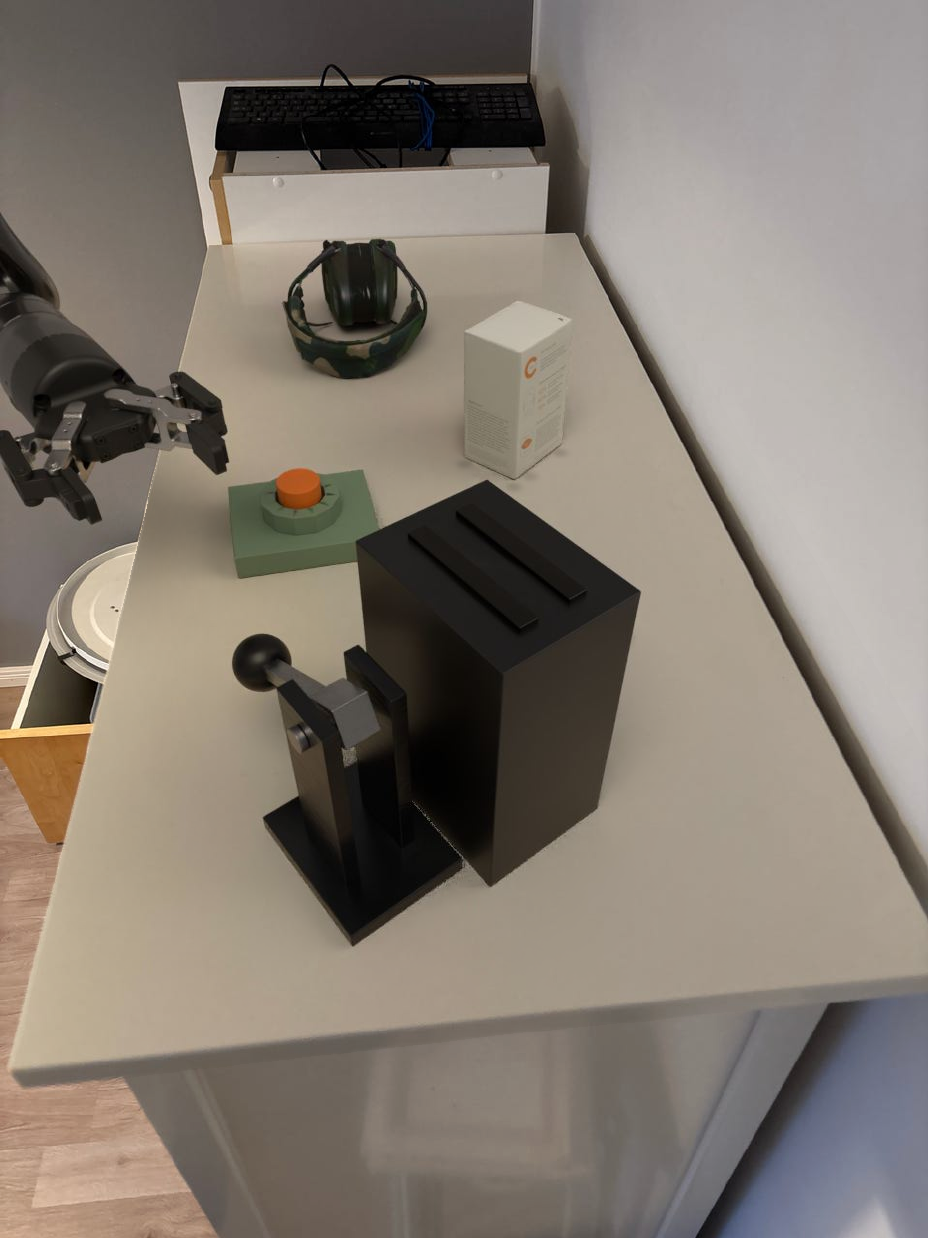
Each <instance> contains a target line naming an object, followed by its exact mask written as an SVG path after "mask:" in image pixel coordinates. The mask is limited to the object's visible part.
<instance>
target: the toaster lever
mask: <svg viewBox="0 0 928 1238" xmlns="http://www.w3.org/2000/svg"><path fill="white" fill-rule="evenodd" d="M292 665H293V659H292V653H291V652H290V650H289V647H288V646H287V644H286V643H285V642H284V641H283V640H281V639H280V638H279V637H277V636H275V635H273V634H269V633H255V634H252V635H249V636H247V637H245V638H244V639H243V640H241V641H240V643H238V645H237V646H236V647H235V648H234V651H233V654H232V658H231V669H232V673H233V675H234V677H235V679H236V680H237V682H238V683H239V684H240V685H241V686H242V687H244V688H246V689H247V690H249V691H251V692H255V693H266V692H272V691H273V690H276V687H278V686H280V685H282V684H284V683H286V682H288V681H289V680H291V679H293V680H294V681H295V682H296V683H297V684H298V685H299V686H300V687H301V689H302V690H303V691H304V692H305V693H306V694H307V695H308V697H309V698H310V699H311V700H312V701H313V702H314V703H315V705H316V706H317V707H318V708H319V709H320V710H321V711H322V713H323V714H324V715H325V716H326V717H327V718H328V719H329V721H330V722H331V723H332V724H333V725H334V726H335V727H336V729H337V730H338V731H339V732H340V739H341V746H342V750H345V751H348V750H350V749H352V748H353V747H355V745H356V744H358V743H360V742H362V741H363V740H365V739H367V738H368V737H370V736H372V735H373V734H375V733H377V732H379V731H380V730H381V727H380V724H379V722H378V719H377V716H376V713H375V710H374V707H373V704H372V702H371V699H370V696H369V693H368V691H367V690H365V689H363V688H361V687H359V686H358V685H356V684H354V683H352V682H350V681H348V680H347V678H345V677H341V678H338V679H337V680H335V681H333V682H332V683H330V684H328V685H325V684H323V683H321V682H320V681H318V680H316V679H315V678H312V677H311V676H309V675H307V674H306V673H304V672H303V671H300V670H299V669H297V668H295V667H293V666H292Z"/></svg>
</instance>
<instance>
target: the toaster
mask: <svg viewBox="0 0 928 1238" xmlns="http://www.w3.org/2000/svg"><path fill="white" fill-rule="evenodd" d="M379 529H380V530H377V531H375V532H373V533H371V534H369V535H367V536H364V537H362V538H360V539H358V540H356V541H355V542H356V552H357V561H356V562H357V571H358V582H359V593H360V601H361V602H360V603H361V612H362V622H363V633H364V642H365V643H364V644H365V651H366V652H367V653H368V654H369V655H370V656H371V657H372V659H373V660H374V661H375V662H376V663H377V664H378V665H379V666H380V667H381V668H382V669H383V670H384V671H385V672H386V673H387V674H388V675H389V676H390V677H391V678H392V679H393V680H394V681H395V682H396V683H397V684H398V685H399V686H400V687H401V688H402V689H403V690H404V691H405V692H406V693H407V708H408V727H409V745H410V764H411V782H412V801H413V803H414V804H415V805H416V806H418V809H419V810H420V811H421V812H422V813H423V814H424V815H425V816H426V818H427V819H428V820H429V821H430V822H431V823H432V824H433V825H434V827H435V828H436V829H437V830H438V831H440V833H441V834H442V836H443V837H444V838H445V839H446V840H447V841H448V842H449V843H450V845H451V846H452V847H453V848H454V849H455V850H456V851H458V854H459V855H460V856H461V857H462V858H463V859H465V860H466V862H467V863H468V864H469V866H471V867H472V869H473V870H474V871H475V872H476V873H477V875H479V876H480V878H481V879H482V880H483V881H484V882H485V883H486V884H487V885H488V887H490V888H491V887H493V886H495V884H496V883H498V882H499V881H501V880H503V879H504V878H505V877H506V876H508V875H510V873H512V872H513V871H514V870H516V869H517V868H519V867H520V866H521V865H523V864H524V863H525V862H527V861H528V860H529V859H531V858H532V857H533V856H535V855H536V854H537V853H539V852H540V851H542V850H544V849H545V848H546V847H547V846H548V845H550V844H551V843H553V842H554V841H555V840H557V839H558V838H560V837H561V836H562V835H563V834H565V833H566V832H568V831H569V830H571V828H573V827H574V826H576V825H577V824H578V823H580V822H582V820H584V819H585V818H586V817H588V816H589V815H590V814H592V813H593V812H594V811H596V810H597V809H598V808H599V803H600V797H601V792H602V787H603V783H604V777H605V773H606V768H607V763H608V757H609V752H610V747H611V743H612V738H613V733H614V728H615V723H616V719H617V713H618V708H619V703H620V698H621V693H622V689H623V683H624V679H625V673H626V668H627V664H628V658H629V655H630V654H629V653H630V649H631V645H632V638H633V634H634V629H635V624H636V619H637V614H638V609H639V606H640V601H641V594H642V591H641V590H640V589H639V588H637V587H636V586H634V585H633V583H630V582H629V581H627V580H626V579H625V578H623V577H622V576H621V575H619V574H618V573H616V572H615V571H614V570H613V569H611V568H610V567H608V566H607V565H606V564H604V563H603V562H601V561H600V560H599V559H597V557H595V556H594V555H592V554H590V553H589V552H588V551H586V550H585V549H584V548H582V547H581V546H579V545H578V544H577V543H576V542H574V541H573V540H571V538H569V537H567V536H566V535H564V533H562V532H561V531H559V530H558V529H556V528H555V527H553V526H552V525H551V524H550V523H548V522H546V520H544V519H542V518H541V517H540V516H539V515H537V514H535V513H534V512H533V511H532V510H530V509H528V508H527V507H526V506H524V505H523V504H522V503H521V502H519V501H517V500H516V499H515V498H514V497H512V496H510V495H509V494H508V493H506V492H505V491H504V490H503V489H501V488H500V487H498V486H497V485H496V484H494V483H493V482H491V481H490V480H489V479H485V480H483V481H480V482H478V483H476V484H474V485H472V486H469V487H468V488H465V489H463V490H462V491H459V492H457V493H455V494H452V495H450V496H448V497H446V498H443V499H442V500H440V501H437V502H435V503H433V504H431V505H429V506H426V507H425V508H423V509H420V510H418V511H416V512H414V513H412V514H409V515H407V516H405V517H403V518H400V519H399V520H397V521H395V522H392V523H390V524H388V525H386V526H383V527H382V528H379Z"/></svg>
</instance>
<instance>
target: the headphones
mask: <svg viewBox="0 0 928 1238" xmlns="http://www.w3.org/2000/svg"><path fill="white" fill-rule="evenodd" d="M319 266H321V278H322V287H323V293H324V299H325V302H326V304H327V306H328V310H329V312H330V314H331V315H332V317H333V318H334V319H335V320H336V322H337V323H338V324H339V325H341V326H352V325H353V324H354V323H369V322H370V323H371V322H375V323H376V325H386V324H388V323H389V324H392V325H393V326H392V327H391V328H389V329H388V330H386V331H384V332H382V333H380V334H379V335H377V336H374V337H371V338H368V339H356V340H337V339H333V338H329V337H325V336H323V335H320V334H318V333H316V332H314V331H313V329H312V328H311V327H315V328H318V327H320V328H321V327H326V326H329V325H332V324H333V323H334V322H333V321H330V322H323V323H314V322H311V321H308V320H307V316H306V310H305V302H304V300H303V299H302V298H303V297H304V290H303V288H302V283H303V281H304V279H306V278H307V277H308V276H309V275H310V274H312V273H313V272H314V271H315V269H317V268H318V267H319ZM398 269H399V270H400V272H402V274H403V275H404V277H405V278H406V280H407V281H408V283H409V285H410V288H411V291H410V303H409V304H408V305H407V306H406V307H405V312H404V313H403V314H402V317H401V318H400V320H399V321H395V320H393V319H392V316H393V313H394V311H395V308H396V303H397V302H396V301H397V298H398V285H399V284H398V281H399V280H398V279H399V277H398V276H399V275H398ZM418 293H419V296H420V298H421V300H422V305H421V300H419V297H418ZM281 305H282V307H283V310H284V314H285V318H286V324H287V328H288V330H289V333H290V336H291V339H292V342H293V344H294V347H295V349H296V351H297V353H299V354H300V355H301V359H302V360H304V361H305V362H307V363H309V364H310V365H313V366H314V367H316V368H317V369H319V370H321V371H322V372H324V373H326V374H328V375H330V376H333V377H336V378H342V379H343V378H344V379H352V378H356V377H359V376H360V377H361V376H362V377H366V378H367V377H370V376H373V375H375V374H376V373H378V372H380V371H383V370H385V369H388V368H390V367H393V365H394V364H395V363H396V362H397V361H398V360H400V359H401V358H402V357H403V356H405V355H406V354H407V353H408V352H409V350H410V349H411V348H412V346H413V345H414V343H415V342H416V340H417V338H418V337H419V335H420V334H421V332H422V330H423V329H424V327H425V324H426V321H427V316H428V301H427V298H426V294H425V292H424V290H423V288H422V287H421V286H420V284H419V283H418V282H417V280H416V279H415V278H414V277H413V275H412V274H411V272H409V270H408V269H407V267H406V265H405V263H404V262H403V261H402V259H401V258H400V257H399V256H398V255H397V247H396V244H395V242H394V241H392V240H386V239H384V238H371V239H370V240H369V242H354V243H347V242H346V241H344V240H333V241H332V242H330V241H329V240H328V239H325V240H323V242H322V251H320V253H319V255H317V256H316V257H315V258H314V259H313V260H312V261H311V262H309V264H308V265H306V268H305V269H304V270H303V271H302V272H301V273H300V274H299V275H298V276H296V278H294V280H293V281H292V282H291V283H290V286H289V288H288V292H287V300H286V301H285V300H282V302H281ZM422 306H423V307H422Z"/></svg>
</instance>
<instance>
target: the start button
mask: <svg viewBox="0 0 928 1238" xmlns="http://www.w3.org/2000/svg"><path fill="white" fill-rule="evenodd" d="M317 473H318V472H316V471H314V470H312V469H308V468H304V467H303V468H302V467H301V468H298V467H297V468H292V469H289V470H286V471H284V472H282V473H281V474H279V476H277V477H276V478H277V480H276V487H277V493H278V499H279V502H280V504H281V505H282V506H284V507H285V508H290V509H295V510H297V509H304V508H310V507H312V506H314V505H316V504H318V503H319V502H320V500H321V498H322V493H321V485H320V478H319V476H318V474H317Z"/></svg>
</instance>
